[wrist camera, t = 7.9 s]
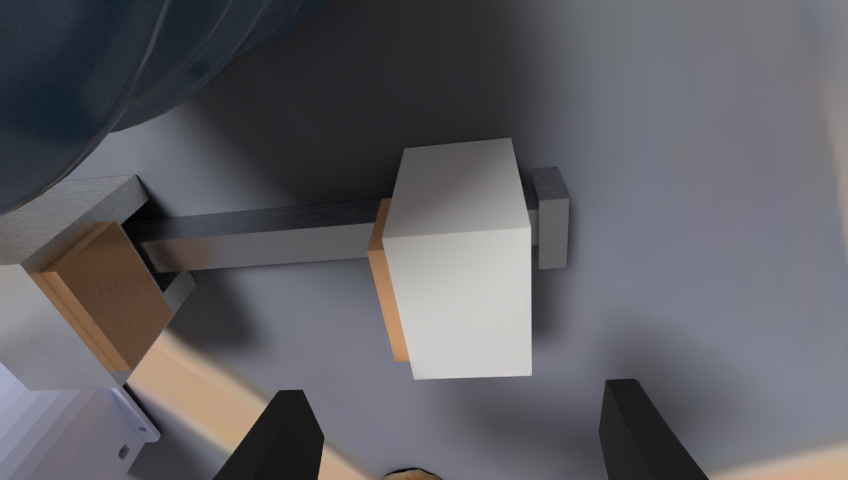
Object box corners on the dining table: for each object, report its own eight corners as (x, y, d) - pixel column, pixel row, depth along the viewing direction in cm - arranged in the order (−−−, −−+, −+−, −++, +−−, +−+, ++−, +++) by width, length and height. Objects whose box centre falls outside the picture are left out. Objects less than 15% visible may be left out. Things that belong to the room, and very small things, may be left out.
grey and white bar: (554, 260, 20) (585, 372, 15) (105, 290, 23) (7, 391, 18) (558, 129, 16) (599, 217, 12) (30, 185, 19) (-116, 274, 15)
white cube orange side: (514, 264, 20) (531, 375, 15) (412, 271, 21) (397, 380, 16) (510, 137, 17) (531, 227, 12) (389, 149, 17) (360, 240, 12)
